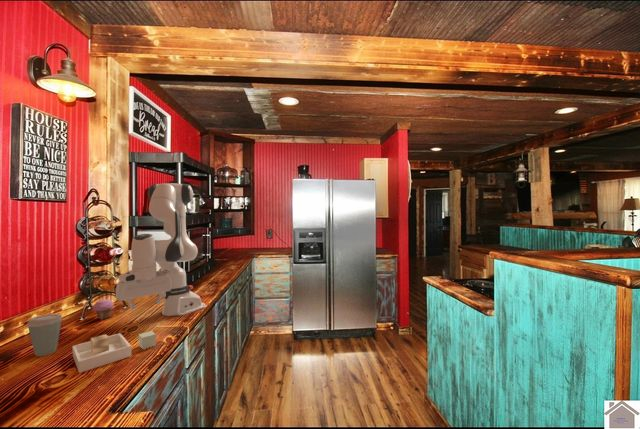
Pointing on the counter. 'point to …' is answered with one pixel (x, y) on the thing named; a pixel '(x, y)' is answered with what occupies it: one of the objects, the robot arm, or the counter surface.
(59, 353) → the counter surface
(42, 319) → the disposable coffee cup
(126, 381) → the counter surface
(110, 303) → the cupcake
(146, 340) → the sage block
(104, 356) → the tray
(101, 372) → the counter surface
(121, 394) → the counter surface
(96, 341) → the maple block
